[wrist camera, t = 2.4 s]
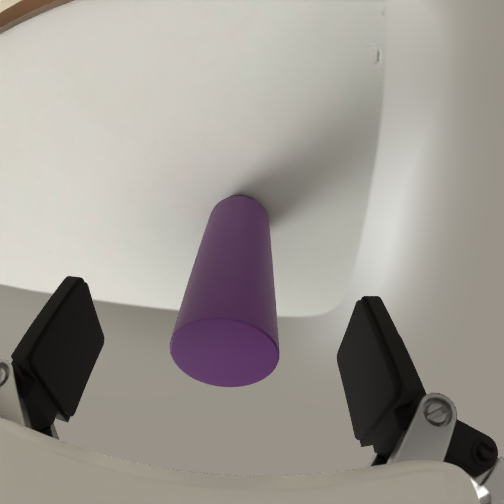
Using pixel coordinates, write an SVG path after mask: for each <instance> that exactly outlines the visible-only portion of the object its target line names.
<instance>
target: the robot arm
mask: <svg viewBox="0 0 504 504" xmlns="http://www.w3.org/2000/svg"><path fill="white" fill-rule="evenodd" d="M103 344H104V335H103V332H102V329H101V326H100V323H99V320H98V317H97V314H96V311H95V308H94V305H93V301H92V298H91V294H90V291H89V287H88V284H87V283H86V282H84V280H83V279H82V278H80V277H72V276H68V277H66V278H65V279H64V281H63V282H62V283H61V284H60V286H59V287H58V288H57V290H56V291H55V292H54V294H53V295H52V296H51V298H50V299H49V300H48V302H47V303H46V305H45V306H44V307H43V309H42V310H41V312H40V313H39V315H38V316H37V317H36V319H35V320H34V322H33V323H32V324H31V326H30V327H29V329H28V330H27V332H26V334H25V335H24V336H23V338H22V340H21V341H20V343H19V344H18V346H17V348H16V349H15V351H14V352H13V354H12V356H11V357H12V359H13V361H12V363H10V362H9V361H8V360H6V359H2V358H0V504H504V459H503V458H502V457H500V458H499V459H498V458H497V456H498V450H497V446H496V444H495V442H494V441H493V439H491V438H490V437H489V436H487V435H485V434H483V433H481V432H480V431H478V430H475V429H474V428H472V427H470V426H468V425H467V424H465V423H463V422H461V421H459V420H457V411H456V407H455V406H454V404H453V402H452V401H451V400H450V399H449V398H448V397H446V396H445V395H443V394H440V393H430V394H427V395H426V392H425V390H424V387H423V385H422V383H421V381H420V378H419V376H418V374H417V371H416V369H415V367H414V365H413V362H412V360H411V358H410V355H409V353H408V351H407V349H406V347H405V345H404V343H403V341H402V338H401V337H400V335H399V334H398V332H397V330H396V327H395V326H394V323H393V321H392V319H391V317H390V315H389V313H388V311H387V309H386V307H385V306H384V304H383V302H382V300H381V298H380V297H378V296H364V297H362V299H361V300H358V301H357V302H356V305H355V308H354V311H353V313H352V316H351V319H350V322H349V324H348V327H347V330H346V332H345V335H344V337H343V340H342V343H341V345H340V348H339V350H338V353H337V362H338V366H339V371H340V375H341V379H342V383H343V386H344V391H345V395H346V399H347V403H348V408H349V412H350V417H351V421H352V426H353V430H354V435H355V438H356V439H357V440H360V443H361V447H364V446H370V445H373V447H374V452H375V454H374V456H373V457H372V459H371V461H370V462H369V464H368V465H367V467H366V468H359V469H352V470H345V471H337V472H327V473H317V474H305V475H289V476H288V475H286V476H239V475H221V474H208V473H198V472H189V471H182V470H175V469H168V468H162V467H157V466H151V465H146V464H141V463H137V462H132V461H128V460H123V459H119V458H115V457H111V456H108V455H104V454H101V453H97V452H94V451H90V450H87V449H84V448H81V447H78V446H75V445H72V444H69V443H66V442H64V441H61V440H59V437H58V435H57V432H56V429H55V426H54V423H53V422H54V420H55V418H56V419H59V420H62V421H65V422H68V421H69V419H70V416H73V415H74V414H75V412H76V409H77V406H78V404H79V401H80V399H81V396H82V394H83V391H84V389H85V386H86V384H87V381H88V379H89V377H90V374H91V372H92V369H93V367H94V365H95V362H96V360H97V358H98V356H99V353H100V351H101V349H102V347H103Z"/></svg>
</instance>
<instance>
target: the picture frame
mask: <svg viewBox="0 0 504 504" xmlns="http://www.w3.org/2000/svg"><path fill="white" fill-rule="evenodd" d="M71 1H73V0H0V34H1V33H2V32H4V31H6V30H8V29H10V28H12V27H13V26H15V25H17V24H19V23H21V22H23V21H25V20H27V19H30V18H32V17H34V16H36V15H38V14H40V13H43V12H45V11H47V10H50V9H52V8H55V7H57V6H60V5H62V4H65V3H68V2H71Z"/></svg>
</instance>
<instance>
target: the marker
mask: <svg viewBox="0 0 504 504" xmlns="http://www.w3.org/2000/svg"><path fill="white" fill-rule="evenodd" d="M170 353H171V356H172V358H173V360H174V362H175V363H176V365H177V366H178V367H179V368H180V369H181V370H182V371H183V372H184V373H186V374H187V375H189V376H190V377H192V378H194V379H196V380H198V381H200V382H204V383H207V384H210V385H214V386H221V387H239V386H245V385H250V384H253V383H256V382H258V381H260V380H262V379H264V378H265V377H267V376H268V375H269V374H271V373H272V372H273V370H274V369H275V368H276V366H277V363H278V360H279V342H278V328H277V314H276V301H275V288H274V276H273V263H272V251H271V240H270V228H269V219H268V216H267V213H266V211H265V210H264V208H263V207H262V206H261V205H260V204H259V203H258V202H256V201H255V200H253V199H252V198H250V197H247V196H243V195H236V196H232V197H229V198H226V199H224V200H222V201H221V202H219V203H218V204H217V205H216V206H215V207H214V209H213V210H212V212H211V215H210V218H209V221H208V223H207V226H206V229H205V232H204V235H203V238H202V241H201V244H200V247H199V250H198V253H197V256H196V259H195V263H194V266H193V269H192V272H191V275H190V278H189V281H188V285H187V288H186V291H185V294H184V297H183V301H182V304H181V307H180V311H179V314H178V317H177V321H176V324H175V328H174V331H173V335H172V338H171V342H170Z"/></svg>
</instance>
